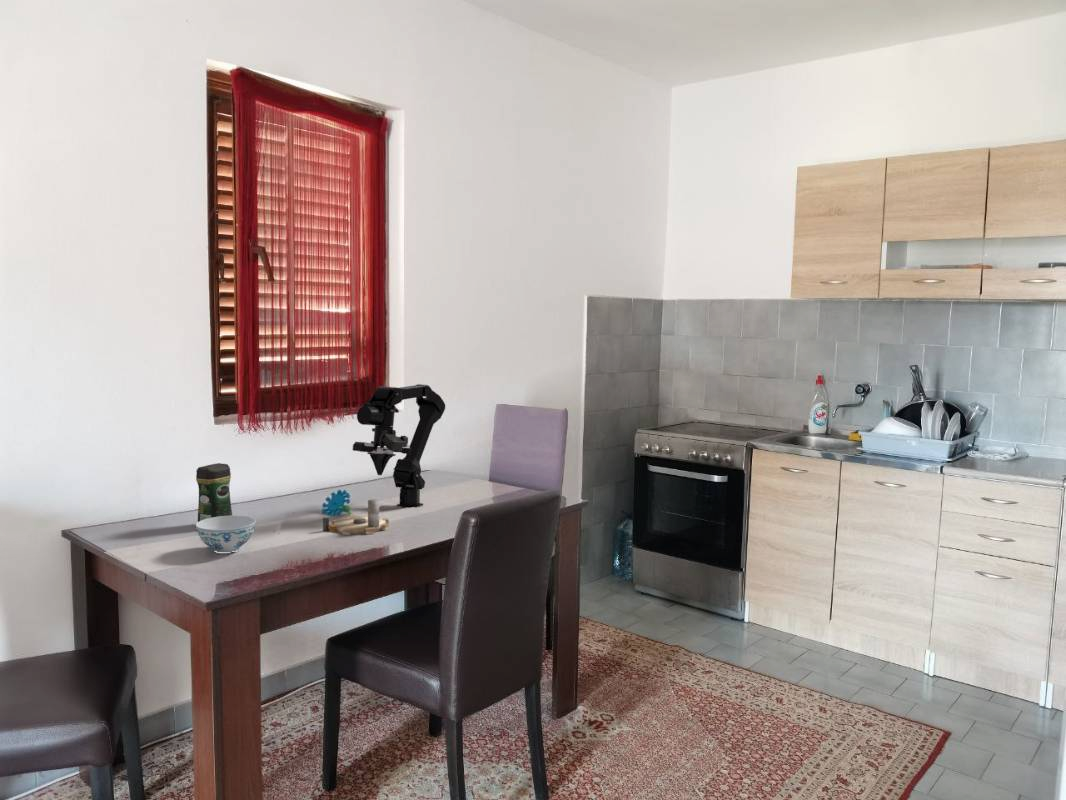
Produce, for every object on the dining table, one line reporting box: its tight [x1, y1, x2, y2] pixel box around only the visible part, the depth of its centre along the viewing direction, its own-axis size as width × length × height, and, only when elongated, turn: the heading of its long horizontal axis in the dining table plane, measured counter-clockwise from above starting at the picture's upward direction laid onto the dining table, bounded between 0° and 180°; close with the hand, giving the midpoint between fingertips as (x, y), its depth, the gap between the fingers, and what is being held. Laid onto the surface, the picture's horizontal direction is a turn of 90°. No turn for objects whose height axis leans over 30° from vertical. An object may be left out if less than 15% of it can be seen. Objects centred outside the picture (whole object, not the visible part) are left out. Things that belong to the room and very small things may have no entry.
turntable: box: [329, 498, 390, 536], centre depth 241 cm, size 17×17×9 cm
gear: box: [321, 489, 353, 517], centre depth 259 cm, size 11×6×10 cm
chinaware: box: [195, 515, 257, 552], centre depth 217 cm, size 15×15×8 cm
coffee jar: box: [195, 462, 233, 522], centre depth 242 cm, size 10×8×19 cm
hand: (379, 475), depth 257 cm, fingers closed
